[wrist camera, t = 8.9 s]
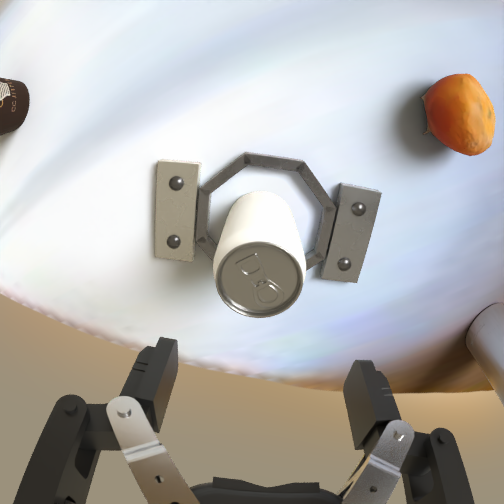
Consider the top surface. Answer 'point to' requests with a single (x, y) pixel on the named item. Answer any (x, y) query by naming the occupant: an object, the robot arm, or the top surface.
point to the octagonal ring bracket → (333, 218)
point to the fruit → (460, 114)
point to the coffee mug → (12, 104)
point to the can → (259, 257)
